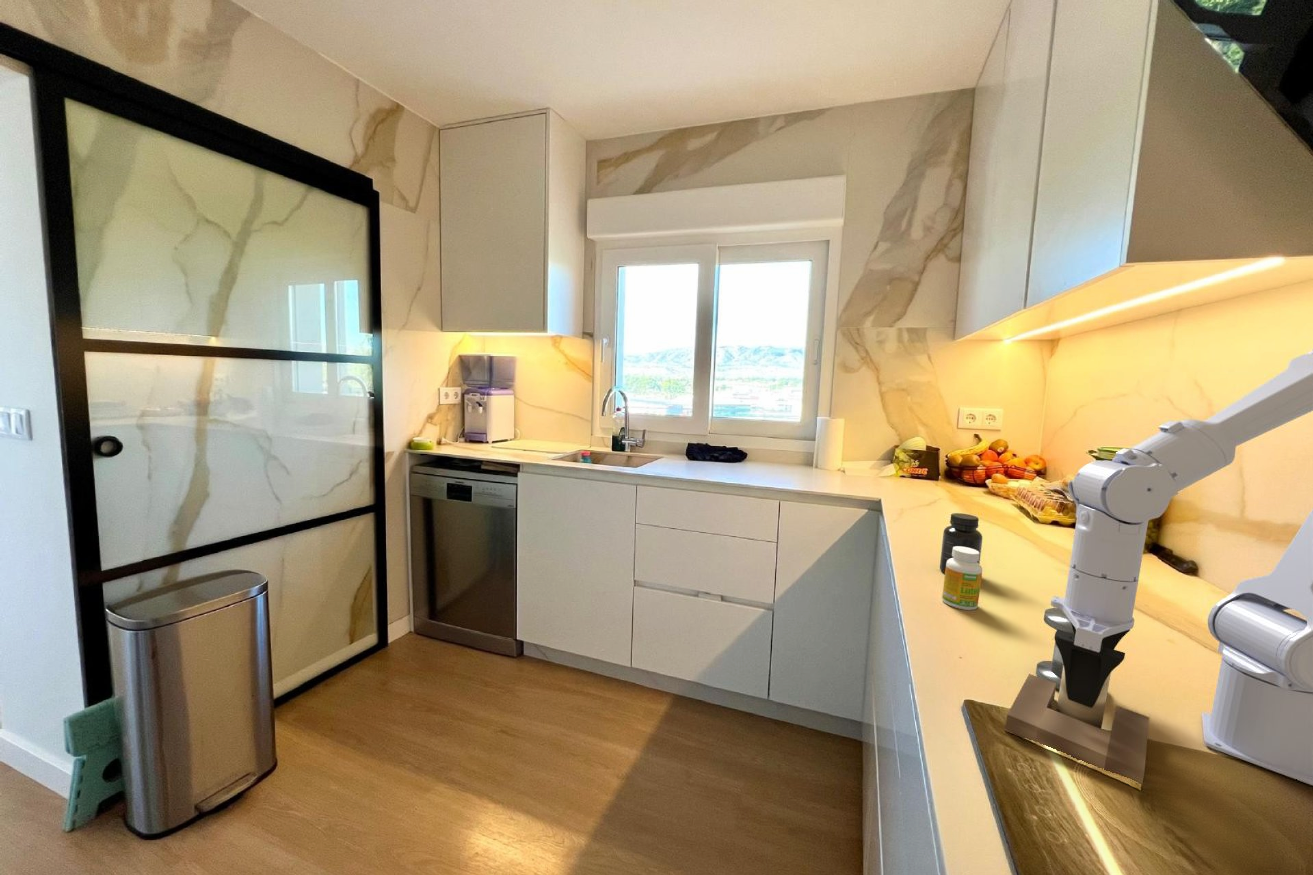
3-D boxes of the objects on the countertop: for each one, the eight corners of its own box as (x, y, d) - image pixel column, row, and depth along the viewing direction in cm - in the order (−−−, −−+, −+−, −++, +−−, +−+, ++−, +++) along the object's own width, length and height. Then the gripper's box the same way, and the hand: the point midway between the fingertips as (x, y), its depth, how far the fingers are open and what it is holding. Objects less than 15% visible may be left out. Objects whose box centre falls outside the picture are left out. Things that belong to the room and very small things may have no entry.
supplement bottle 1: (945, 565, 110) (952, 509, 109) (982, 575, 105) (990, 517, 104) (933, 572, 105) (940, 514, 104) (971, 583, 101) (979, 522, 99)
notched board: (1146, 733, 58) (1149, 717, 58) (1141, 790, 49) (1144, 771, 49) (1027, 688, 65) (1029, 673, 65) (1004, 731, 57) (1007, 714, 57)
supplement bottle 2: (959, 611, 87) (966, 556, 86) (934, 598, 92) (940, 545, 91) (985, 609, 89) (992, 554, 87) (959, 596, 94) (965, 544, 93)
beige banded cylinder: (1102, 725, 59) (1113, 659, 58) (1098, 741, 56) (1110, 672, 55) (1058, 708, 62) (1068, 644, 61) (1052, 723, 59) (1062, 656, 58)
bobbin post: (1107, 684, 67) (1117, 622, 66) (1101, 707, 62) (1112, 640, 61) (1040, 661, 72) (1049, 603, 71) (1031, 680, 67) (1040, 618, 66)
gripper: (1066, 548, 65) (1051, 651, 66) (1046, 576, 54) (1028, 697, 56) (1144, 565, 60) (1125, 676, 61) (1137, 599, 49) (1115, 731, 51)
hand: (1084, 688), depth 58 cm, fingers open, 7 cm apart
